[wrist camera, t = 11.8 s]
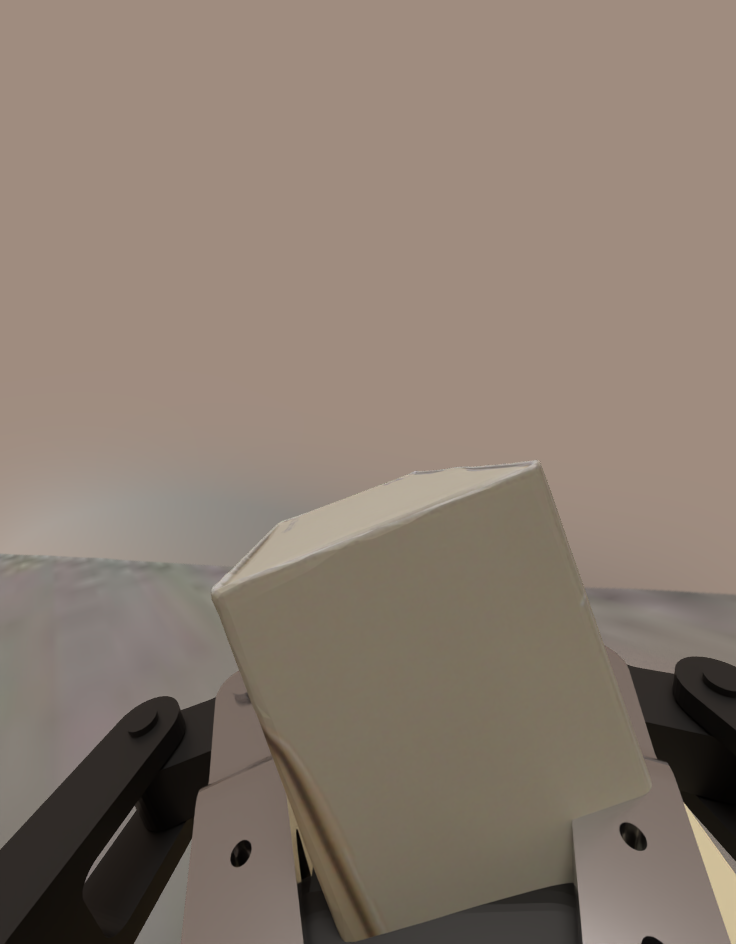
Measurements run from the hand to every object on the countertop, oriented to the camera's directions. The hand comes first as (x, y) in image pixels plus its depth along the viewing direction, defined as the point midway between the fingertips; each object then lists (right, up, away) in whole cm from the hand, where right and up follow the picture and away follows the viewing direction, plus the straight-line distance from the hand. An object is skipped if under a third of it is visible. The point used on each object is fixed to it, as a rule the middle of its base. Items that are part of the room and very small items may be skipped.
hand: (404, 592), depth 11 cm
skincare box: (+3, -8, -4) cm, 10 cm away
